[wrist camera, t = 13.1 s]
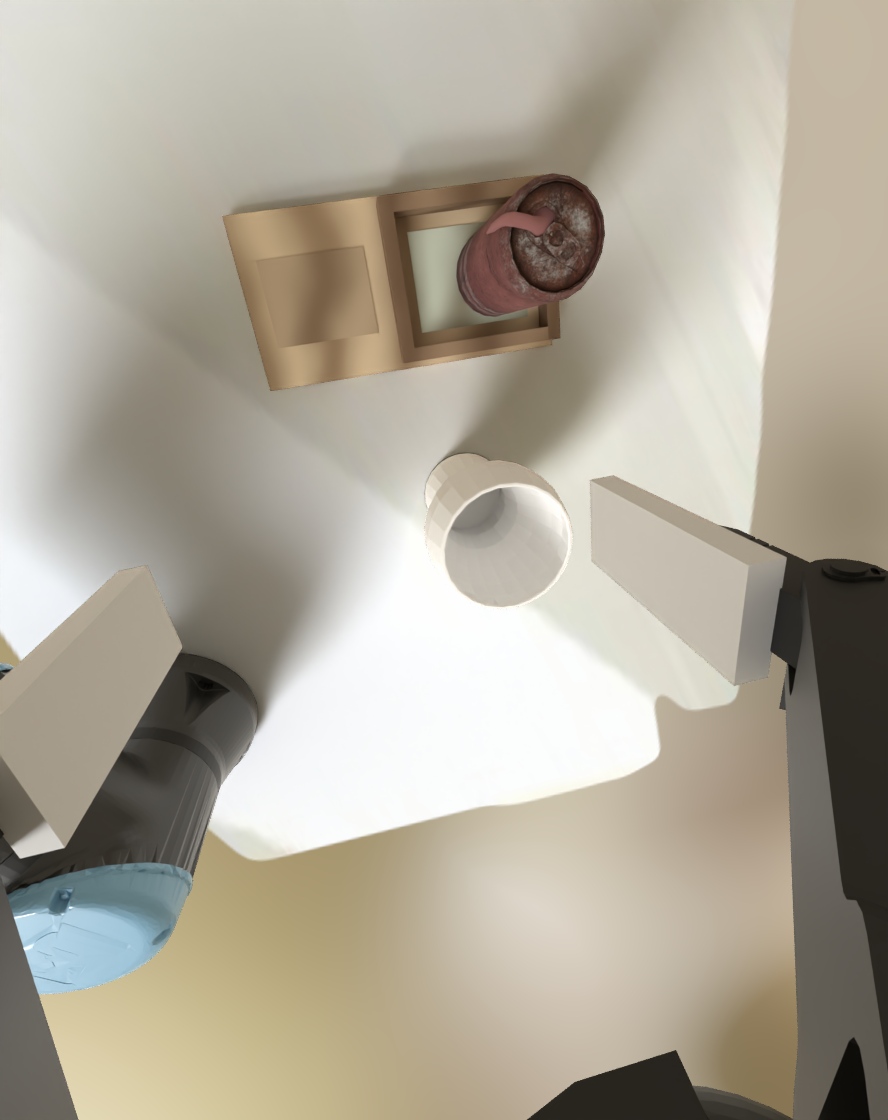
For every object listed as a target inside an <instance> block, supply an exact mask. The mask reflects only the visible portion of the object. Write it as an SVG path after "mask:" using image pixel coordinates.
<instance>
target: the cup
mask: <svg viewBox="0 0 888 1120" xmlns="http://www.w3.org/2000/svg"><path fill="white" fill-rule="evenodd" d="M425 500H426V505H427V507H428V510H427V515H426V521H425V526H424V531H425V543H426V547H427V550H428V553H429V555H430V558H431V561H432V563H433V566H434V568H435V571H436V572H437V573H438V575H439V576H440V577H441V578H442V580H443V581H444V582H445V584H447V585H448V586H449V587H450V588H451V589H453V590H454V591H455V592H456V593H458V594H459V595H460V596H462V597H463V598H464V599H466V600H467V601H468V602H470V603H473V604H476V605H478V606H481V607H484V608H492V609H507V608H514V607H519V606H521V605H524V604H526V603H529V602H532V601H534V600H535V599H537V598H538V597H540V596H541V595H543V594H544V593H546V592H547V591H548V590H549V589H550V588H551V587H552V586H553V585H554V584H555V583H556V581H557V580H558V579H559V578H560V576H561V574H562V573H563V571H564V569H565V568H566V566H567V564H568V560H569V557H570V554H571V551H572V538H573V531H572V527H571V523H570V519H569V516H568V514H567V511H566V509H565V507H564V505H563V503H562V501H561V500H560V498H559V496H558V494H557V493H556V491H555V489H554V488H553V487H552V486H551V485H550V484H549V483H548V482H547V481H546V480H544V479H543V478H542V477H541V476H540V475H538V474H537V473H535V472H533V471H532V470H530V469H528V468H526V467H524V466H522V465H520V464H518V463H514V462H508V461H502V460H494V461H488V460H487V459H485V458H483V457H481V456H479V455H475V454H469V453H465V454H457V455H454V456H451V457H449V458H447V459H445V460H444V461H442V462H441V463H440V464H438V465H437V467H436V468H435V469H434V470H433V471H432V473H431V475H430V477H429V479H428V481H427V484H426V490H425Z"/></svg>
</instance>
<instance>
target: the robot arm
mask: <svg viewBox="0 0 888 1120" xmlns="http://www.w3.org/2000/svg"><path fill="white" fill-rule="evenodd" d="M590 511H591V556H592V562H593V563H594V564H596V565H597V566H598V567H599V568H600V569H601V570H602V571H603V572H605V573H606V574H607V575H608V576H609V577H610V578H611V579H613V580H614V581H615V582H616V583H617V584H618V585H619V586H621V587H622V588H623V589H624V590H625V591H626V592H627V593H629V594H630V595H631V596H632V597H633V598H634V599H635V600H637V601H638V602H639V603H640V604H641V605H642V606H643V607H645V608H646V609H647V610H648V611H649V612H650V613H651V614H653V615H654V616H655V617H656V618H657V619H658V620H659V621H660V622H662V623H663V624H664V625H665V626H666V627H667V628H668V629H670V630H671V631H672V632H673V633H674V634H675V635H676V636H678V637H679V638H680V639H681V640H682V641H683V642H684V643H686V644H687V645H688V646H689V647H690V648H691V649H692V650H694V651H695V652H696V653H697V654H698V655H699V656H700V657H702V658H703V659H704V660H705V661H706V662H707V663H708V664H710V665H711V666H712V667H713V668H714V669H715V670H716V671H717V672H719V673H720V674H721V675H722V676H723V677H724V678H725V679H727V680H728V681H729V682H730V683H731V684H732V685H733V686H735V685H739V684H743V683H747V682H751V681H756V680H760V679H764V678H768V673H769V667H770V660H771V654H772V653H774V654H775V655H777V656H778V657H780V658H781V659H782V660H784V661H785V662H787V669H786V674H785V679H784V686H783V691H782V697H781V702H780V709H784V710H786V729H787V754H788V755H787V757H788V783H789V810H790V834H791V835H790V836H791V860H792V861H791V863H792V889H793V912H794V913H793V915H794V942H795V967H796V968H795V969H796V995H797V1019H798V1020H797V1022H798V1051H797V1065H796V1075H795V1086H794V1103H793V1104H794V1105H793V1119H791V1118H790V1117H788V1116H786V1115H784V1114H782V1113H780V1112H778V1111H776V1110H775V1109H773V1108H771V1107H769V1106H766V1105H764V1104H761V1103H758V1102H755V1101H753V1100H751V1099H748V1098H745V1097H743V1096H740V1095H737V1094H733V1093H729V1092H725V1091H721V1090H717V1089H713V1088H708V1087H701V1086H692V1084H691V1082H690V1080H689V1077H688V1075H687V1073H686V1071H685V1069H684V1066H683V1064H682V1062H681V1060H680V1058H679V1056H678V1053H677V1051H676V1050H675V1051H672V1052H669V1053H666V1054H662V1055H659V1056H656V1057H653V1058H650V1059H646V1060H643V1061H640V1062H637V1063H634V1064H631V1065H628V1066H624V1067H622V1068H618V1069H615V1070H612V1071H609V1072H605V1073H602V1074H599V1075H596V1076H593V1077H589V1078H586V1079H583V1080H580V1081H577V1082H574V1083H573V1084H572V1085H570V1087H568V1088H567V1089H565V1090H564V1091H563V1092H562V1093H560V1094H559V1095H558V1096H557V1097H555V1098H554V1099H553V1100H551V1101H550V1102H549V1103H548V1104H546V1105H545V1106H544V1107H543V1108H541V1109H540V1110H539V1111H538V1112H536V1113H535V1114H534V1115H532V1116H531V1117H530V1118H529V1119H527V1120H888V571H886V570H884V569H882V568H880V567H878V566H875V565H872V564H868V563H864V562H861V561H854V560H847V559H823V560H816V561H813V562H811V563H809V562H807V561H805V560H803V559H801V558H799V557H797V556H794V555H792V554H790V553H788V552H785V551H784V550H781V549H779V548H777V547H775V546H773V545H772V546H769V544H768V543H766V542H764V541H762V540H760V539H755V537H753V536H751V535H749V534H747V533H744V532H742V531H740V530H737V529H733V528H729V527H725V526H720V525H717V524H715V523H713V522H711V521H709V520H707V519H704V518H702V517H700V516H698V515H696V514H694V513H692V512H690V511H687V510H685V509H683V508H681V507H679V506H677V505H675V504H673V503H671V502H668V501H666V500H664V499H662V498H660V497H658V496H656V495H654V494H652V493H649V492H647V491H645V490H643V489H641V488H639V487H637V486H635V485H632V484H630V483H628V482H626V481H624V480H622V479H620V478H618V477H616V476H608V477H603V478H598V479H593V480H590ZM182 647H183V646H182V644H181V641H180V639H179V637H178V635H177V632H176V630H175V628H174V625H173V623H172V621H171V619H170V616H169V614H168V612H167V609H166V607H165V605H164V603H163V600H162V598H161V596H160V593H159V591H158V589H157V587H156V584H155V582H154V580H153V577H152V575H151V573H150V571H149V568H148V566H142V567H136V568H131V569H126V570H121V571H118V572H117V573H116V574H115V575H114V576H113V577H112V578H111V579H110V580H108V581H107V582H106V583H105V584H104V585H103V586H102V587H101V588H100V589H99V590H98V591H97V592H95V593H94V594H93V595H92V596H91V597H90V598H89V599H88V600H87V601H86V602H85V603H84V604H82V605H81V606H80V607H79V608H78V609H77V610H76V611H75V612H74V613H73V614H72V615H71V616H69V617H68V618H67V619H66V620H65V621H64V622H63V623H62V624H61V625H60V626H59V627H58V628H56V629H55V630H54V631H53V632H52V633H51V634H50V635H49V636H48V637H47V638H46V639H45V640H43V641H42V642H41V643H40V644H39V645H38V646H37V647H36V648H35V649H34V650H33V651H32V652H30V653H29V654H28V655H27V656H26V657H25V658H24V659H23V660H22V661H21V662H20V663H19V664H17V665H16V666H15V667H13V666H11V665H10V664H2V663H0V1120H78V1117H77V1114H76V1111H75V1108H74V1105H73V1101H72V1098H71V1095H70V1092H69V1089H68V1086H67V1083H66V1079H65V1076H64V1073H63V1070H62V1067H61V1064H60V1061H59V1057H58V1055H57V1051H56V1048H55V1045H54V1042H53V1039H52V1035H51V1032H50V1029H49V1026H48V1023H47V1020H46V1017H45V1014H44V1010H43V1007H42V1004H41V1001H40V998H39V995H38V994H55V993H65V992H70V991H75V990H82V989H87V988H91V987H96V986H98V985H102V984H105V983H108V982H111V981H114V980H116V979H118V978H121V977H123V976H125V975H127V974H129V973H131V972H133V971H134V970H136V969H138V968H139V967H141V966H142V965H144V964H145V963H147V962H148V961H149V960H150V959H152V958H153V957H154V956H155V955H156V954H157V953H158V952H159V951H160V950H161V949H162V948H163V946H164V945H165V944H166V942H167V941H168V939H169V938H170V936H171V934H172V932H173V930H174V928H175V926H176V923H177V920H178V918H179V915H180V913H181V910H182V908H183V905H184V903H185V900H186V898H187V896H188V895H189V893H190V891H191V889H192V882H193V880H192V878H193V875H194V872H195V868H196V865H197V862H198V858H199V854H200V851H201V848H202V845H203V841H204V838H205V835H206V832H207V829H208V825H209V822H210V819H211V815H212V812H213V809H214V806H215V802H216V799H217V795H218V792H219V789H220V786H221V785H222V783H223V782H224V780H225V779H226V778H227V776H228V775H229V773H230V772H231V771H232V769H233V768H234V767H235V766H236V765H237V764H238V763H239V762H240V761H241V759H242V758H243V757H244V756H245V754H246V753H247V751H248V749H249V747H250V745H251V743H252V740H253V737H254V733H255V730H256V726H257V721H258V708H257V703H256V700H255V698H254V695H253V693H252V691H251V690H250V688H249V687H248V685H247V684H246V683H245V682H244V681H243V680H242V679H241V678H240V677H239V676H238V675H237V674H236V673H234V672H233V671H232V670H230V669H229V668H227V667H225V666H223V665H221V664H219V663H217V662H215V661H212V660H210V659H206V658H203V657H199V656H194V655H187V654H179V652H180V651H181V649H182Z"/></svg>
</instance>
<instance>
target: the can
mask: <svg viewBox="0 0 888 1120" xmlns="http://www.w3.org/2000/svg"><path fill="white" fill-rule="evenodd" d="M604 236H605V231H604V219H603V214H602V212H601V209H600V206H599V203H598V201H597V199H596V198H595V196H594V195H593V194H592V193H591V191H590V190H589V189H588V187H587V186H585V185H583V184H582V183H580V182H579V181H577V180H575V179H574V178H571V177H570V176H565V175H559V174H548V175H544V176H540V177H536V178H534V179H533V180H531V181H530V182H528V183H527V184H525V185H524V186H523V187H521V188H520V189H519V190H518V191H517V192H516V193H515V194H514V195H513V196H512V197H511V198H510V199H509V200H508V201H507V202H506V203H505V204H504V205H503V206H502V207H501V208H500V209H499V210H498V211H497V212H496V213H495V214H494V215H493V216H492V217H491V218H490V219H489V220H488V221H487V222H486V223H485V224H484V225H483V226H482V227H481V228H480V229H479V230H478V231H477V232H476V233H475V234H474V235H473V236H472V237H471V238H470V239H469V240H468V242H467V243H466V244H465V246H464V247H463V248H462V250H461V253H460V256H459V259H458V261H457V271H456V278H457V283H458V288H459V291H460V293H461V295H462V297H463V299H464V301H465V302H466V303H467V304H468V305H469V306H470V307H471V308H472V309H473V310H474V311H475V312H478V313H480V314H482V315H484V316H492V317H497V316H501V315H505V314H509V313H513V312H516V311H520V310H524V309H528V308H532V307H536V306H540V305H543V304H547V303H551V302H555V301H559V300H563V299H566V298H568V297H570V296H571V295H572V294H574V293H575V292H577V291H578V290H580V289H581V288H582V287H583V286H584V284H585V283H586V282H587V281H588V279H589V278H590V277H591V276H592V274H593V272H594V270H595V267H596V265H597V263H598V261H599V258H600V255H601V253H602V248H603V242H604Z"/></svg>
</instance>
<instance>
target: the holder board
mask: <svg viewBox="0 0 888 1120" xmlns="http://www.w3.org/2000/svg"><path fill="white" fill-rule="evenodd" d="M540 176H544V175H536V176H528V177H520V178H512V179H505V180H497V181H489V182H481V183H474V184H466V185H458V186H450V187H443V188H435V189H427V190H419V191H412V192H404V193H396V194H388V195H381V196H373V197H365V198H357V199H350V200H342V201H334V202H326V203H319V204H311V205H303V206H295V207H288V208H280V209H272V210H264V211H257V212H249V213H241V214H233V215H226V216H222V217H223V221H224V224H225V228H226V232H227V235H228V239H229V242H230V246H231V250H232V253H233V257H234V261H235V264H236V268H237V271H238V275H239V279H240V282H241V286H242V289H243V293H244V297H245V300H246V304H247V307H248V311H249V315H250V318H251V322H252V326H253V329H254V333H255V336H256V340H257V344H258V347H259V351H260V354H261V358H262V362H263V365H264V369H265V372H266V376H267V380H268V383H269V387H270V391H274V390H280V389H286V388H293V387H299V386H305V385H311V384H317V383H323V382H329V381H335V380H341V379H347V378H353V377H360V376H366V375H372V374H378V373H384V372H390V371H396V370H402V369H408V368H414V367H421V366H427V365H433V364H439V363H445V362H451V361H457V360H463V359H469V358H475V357H482V356H488V355H494V354H500V353H506V352H512V351H518V350H524V349H530V348H536V347H543V346H549V345H552V340H551V339H557V338H560V318H559V301H555V302H551V303H547V304H543V305H540V306H536V307H532V308H528V309H524V310H520V311H516V312H513V313H509V314H505V315H501V316H497V317H492V316H484V315H482V314H480V313H478V312H475V311H474V310H473V309H472V308H471V307H470V306H469V305H468V304H467V303H466V302H465V301H464V299H463V297H462V295H461V293H460V291H459V288H458V283H457V278H456V271H457V261H458V259H459V256H460V253H461V250H462V248H463V247H464V246H465V244H466V243H467V242H468V240H469V239H470V238H471V237H472V236H473V235H474V234H475V233H476V232H477V231H478V230H479V229H480V228H481V227H482V226H483V225H484V224H485V223H486V222H487V221H488V220H489V219H490V218H491V217H492V216H493V215H494V214H495V213H496V212H497V211H498V210H499V209H500V208H501V207H502V206H503V205H504V204H505V203H506V202H507V201H508V200H509V199H510V198H511V197H512V196H513V195H514V194H515V193H516V192H517V191H518V190H519V189H520V188H521V187H523V186H524V185H525V184H527V183H528V182H530V181H531V180H533V179H534V178H536V177H540Z"/></svg>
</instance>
